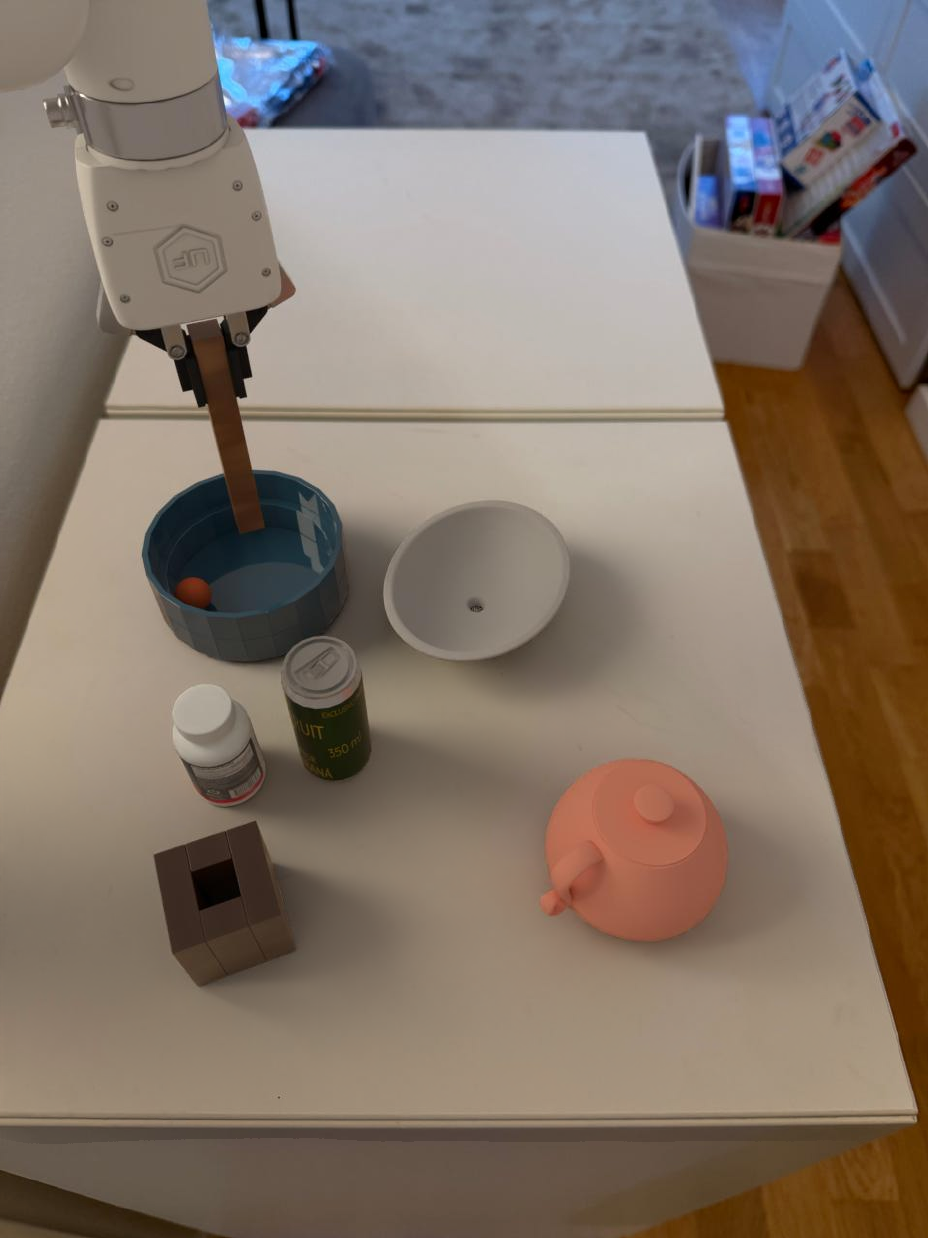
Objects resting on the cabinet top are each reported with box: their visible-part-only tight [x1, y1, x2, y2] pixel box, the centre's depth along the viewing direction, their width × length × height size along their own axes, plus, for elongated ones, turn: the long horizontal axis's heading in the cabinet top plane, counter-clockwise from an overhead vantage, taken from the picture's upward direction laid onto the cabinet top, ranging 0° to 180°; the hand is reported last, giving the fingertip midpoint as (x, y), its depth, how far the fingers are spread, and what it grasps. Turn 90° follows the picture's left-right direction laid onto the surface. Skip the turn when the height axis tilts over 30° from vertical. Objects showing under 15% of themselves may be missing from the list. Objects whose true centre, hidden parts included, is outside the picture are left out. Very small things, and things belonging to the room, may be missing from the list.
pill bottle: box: [171, 683, 267, 808], centre depth 65 cm, size 5×5×10 cm
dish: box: [382, 499, 572, 663], centre depth 77 cm, size 18×14×5 cm
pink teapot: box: [539, 758, 729, 942], centre depth 61 cm, size 12×14×10 cm
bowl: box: [141, 469, 350, 662], centre depth 77 cm, size 16×16×6 cm
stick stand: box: [152, 820, 297, 988], centre depth 60 cm, size 7×7×7 cm
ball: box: [174, 577, 212, 610], centre depth 77 cm, size 3×3×3 cm
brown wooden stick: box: [185, 318, 265, 534], centre depth 66 cm, size 2×2×18 cm
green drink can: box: [280, 635, 373, 783], centre depth 66 cm, size 5×5×12 cm
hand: (218, 388), depth 63 cm, fingers closed on brown wooden stick, 2 cm apart
